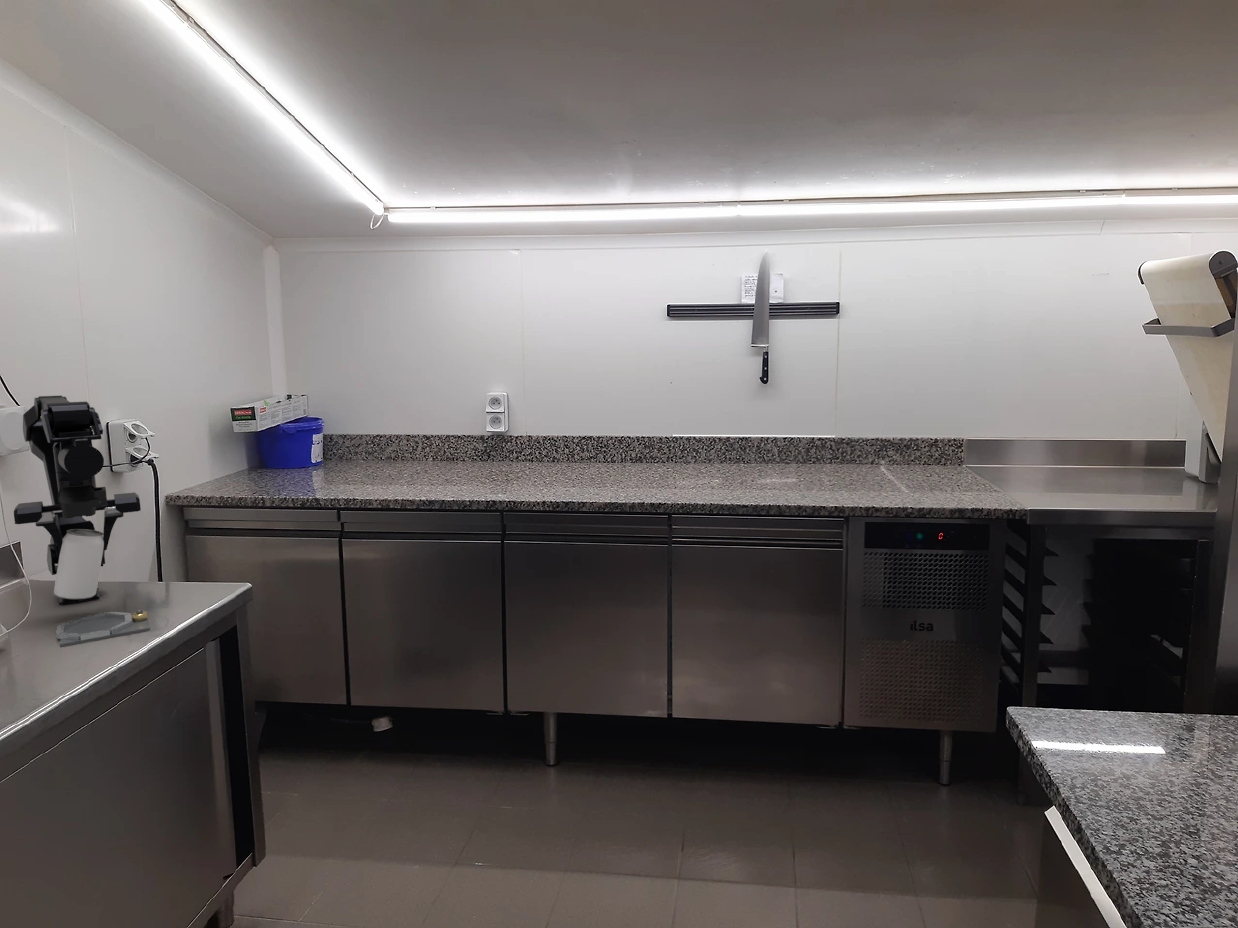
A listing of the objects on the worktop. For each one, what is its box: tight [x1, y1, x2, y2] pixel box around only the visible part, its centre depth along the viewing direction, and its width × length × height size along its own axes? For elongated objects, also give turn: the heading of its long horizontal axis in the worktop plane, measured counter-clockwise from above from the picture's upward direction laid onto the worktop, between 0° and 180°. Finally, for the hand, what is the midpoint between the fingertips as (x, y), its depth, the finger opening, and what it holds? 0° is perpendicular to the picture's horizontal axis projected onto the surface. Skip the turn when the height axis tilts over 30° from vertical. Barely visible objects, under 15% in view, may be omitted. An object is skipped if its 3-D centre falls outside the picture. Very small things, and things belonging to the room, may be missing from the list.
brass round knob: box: [132, 608, 149, 622], centre depth 137 cm, size 2×2×2 cm
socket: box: [55, 610, 132, 641], centre depth 133 cm, size 11×11×1 cm
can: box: [53, 529, 104, 599], centre depth 139 cm, size 6×6×12 cm
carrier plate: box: [59, 612, 151, 648], centre depth 134 cm, size 10×13×1 cm
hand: (85, 552), depth 139 cm, fingers closed on can, 6 cm apart
